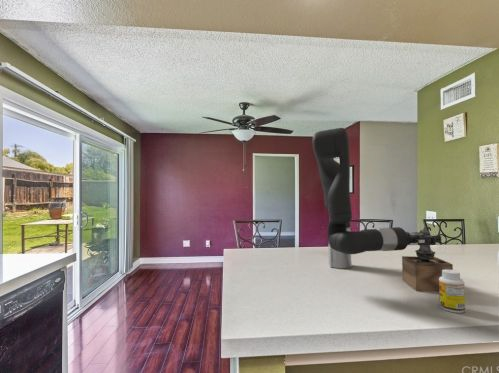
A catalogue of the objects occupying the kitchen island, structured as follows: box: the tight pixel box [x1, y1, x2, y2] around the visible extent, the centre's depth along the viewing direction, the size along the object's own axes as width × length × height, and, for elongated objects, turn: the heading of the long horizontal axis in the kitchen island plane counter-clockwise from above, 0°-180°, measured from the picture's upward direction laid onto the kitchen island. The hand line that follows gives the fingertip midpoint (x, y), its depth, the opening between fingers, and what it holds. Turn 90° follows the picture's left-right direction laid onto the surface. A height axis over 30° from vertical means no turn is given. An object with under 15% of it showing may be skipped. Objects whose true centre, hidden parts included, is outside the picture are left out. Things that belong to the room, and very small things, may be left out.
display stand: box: [401, 255, 454, 293], centre depth 94 cm, size 11×11×9 cm
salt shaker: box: [414, 227, 436, 263], centre depth 94 cm, size 6×6×12 cm
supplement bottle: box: [438, 269, 466, 314], centre depth 75 cm, size 6×6×10 cm
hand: (429, 237), depth 95 cm, fingers open, 8 cm apart
